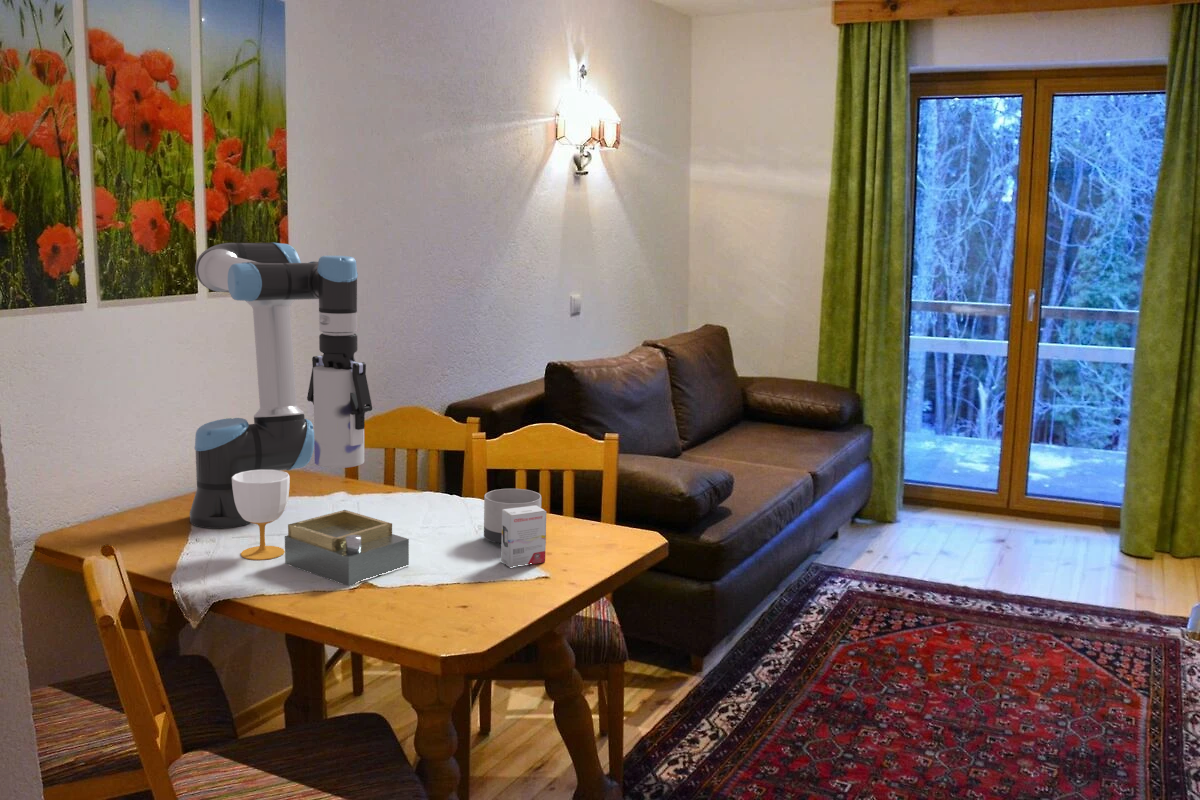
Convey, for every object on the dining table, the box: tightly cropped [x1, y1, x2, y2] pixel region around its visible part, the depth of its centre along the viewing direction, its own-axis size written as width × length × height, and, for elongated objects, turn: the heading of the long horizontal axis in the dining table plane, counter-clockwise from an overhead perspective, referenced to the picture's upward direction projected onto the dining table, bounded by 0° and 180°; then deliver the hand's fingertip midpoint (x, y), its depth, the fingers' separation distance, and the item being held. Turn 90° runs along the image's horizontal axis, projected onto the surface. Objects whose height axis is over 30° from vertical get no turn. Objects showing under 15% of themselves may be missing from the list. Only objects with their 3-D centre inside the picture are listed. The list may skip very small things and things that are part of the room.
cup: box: [232, 470, 291, 561], centre depth 233 cm, size 12×12×17 cm
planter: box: [483, 488, 542, 546], centre depth 248 cm, size 13×13×10 cm
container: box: [312, 365, 365, 469], centre depth 225 cm, size 10×10×20 cm
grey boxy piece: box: [284, 509, 410, 587], centre depth 228 cm, size 20×16×9 cm
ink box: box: [500, 505, 547, 568], centre depth 233 cm, size 9×5×12 cm, turn 119°
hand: (339, 440), depth 226 cm, fingers closed on container, 10 cm apart
